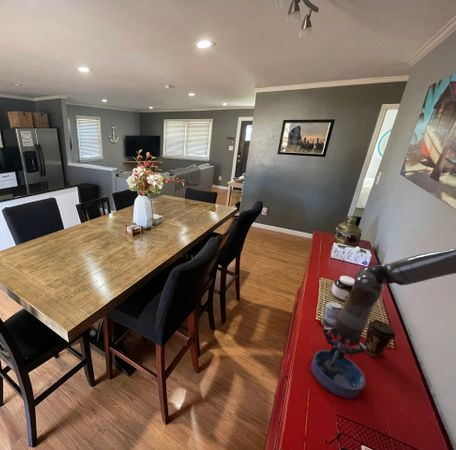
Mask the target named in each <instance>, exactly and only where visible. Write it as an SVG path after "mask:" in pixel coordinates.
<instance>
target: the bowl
mask: <svg viewBox="0 0 456 450" xmlns="http://www.w3.org/2000/svg"><path fill="white" fill-rule="evenodd" d="M330 351H331V350H328V349H320V350H318V351H316V352H315V353H314V356H313V358H312V361H311V363H310V370H311V373H312V374H313V375H312V376H313V377H314V378H315V380H317V382H318V383H319V384H320V385H321V386H323V387H324V388H325V390H326V389H327V390H328V391H329V392H331V393H332V394H334V395H337V396H339V397H342V398H346V399H354V398H357V397H358V396H360V395H361V393H362V391H363V390H364V388H365V386H366V378H365V377H366V376H365V374H364V373H363V371H362V370H361V368H360V367H359V366H358V365H356V363H355V362H354V361H352V360H351V359H350V358H348V357H347V356H345V355H344V357H343V359H341V358H340V359H337V360H336V363H335V364H337V365H338V367H339V371H338V373H337V375H336V376H332V375H329V374H328V373H326V372H325V370H324V369H323V365H324V363H325V361H327V360H329V361H332V360H333V356H332V355H331V354H332V353H330Z"/></svg>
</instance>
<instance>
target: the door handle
mask: <svg viewBox="0 0 456 450" xmlns="http://www.w3.org/2000/svg"><path fill="white" fill-rule="evenodd" d="M343 347H344V344H342V343H340V342H339V344H338V346H337V349H336V351H335V353H334V356H333V360H332V361H329V360H327V361H325V363H324V365H323V369H324V370H325V372H326V373H328V374H329V375H332V376H336V375H337V373H338V371H339V367H338V365H337V364H335V363H336V360H337V359H338V357H339V355H340V352H341V349H342V348H343Z"/></svg>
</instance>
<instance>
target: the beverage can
mask: <svg viewBox="0 0 456 450" xmlns="http://www.w3.org/2000/svg"><path fill="white" fill-rule="evenodd" d="M342 308H343V306H342V305H341V304H339V302H335V301H328V302H327V303H326V305H325V308H324V311H323V314H322V318H321V321H320V323H321V324H322V326H323V328H324V327H325V326H327V327H328V328H332V327H333V326H335V323H336V321H337V318H338V316H339V313H340V311H341V309H342Z"/></svg>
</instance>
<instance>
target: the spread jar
mask: <svg viewBox="0 0 456 450" xmlns="http://www.w3.org/2000/svg"><path fill="white" fill-rule="evenodd" d="M354 281H355V278H353V277H350V276H348V275H341V276H340V277H339V279H336V280H335V281H334V282H333V283H332V286H331V293H332V295H333V297H335V298H336V299H337V300H339V301H341V302H345V301H346V299H347V297H348V295H349V294H350V293H351V290H352V287H353V284H354Z"/></svg>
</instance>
